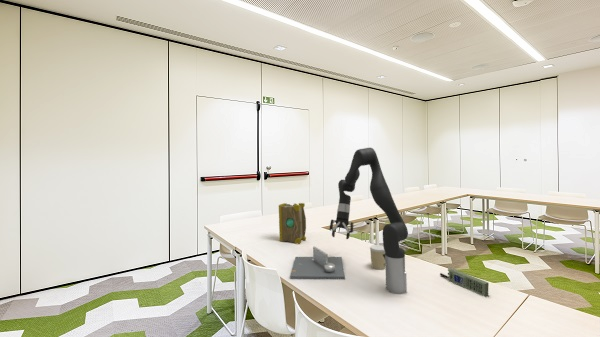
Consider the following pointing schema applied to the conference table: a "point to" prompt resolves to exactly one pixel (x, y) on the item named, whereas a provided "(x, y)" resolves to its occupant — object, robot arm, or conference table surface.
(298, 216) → the decorative book
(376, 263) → the coffee cup
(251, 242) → the conference table surface
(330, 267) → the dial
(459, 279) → the handheld radio
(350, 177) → the robot arm
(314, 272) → the dial plate
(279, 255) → the conference table surface
